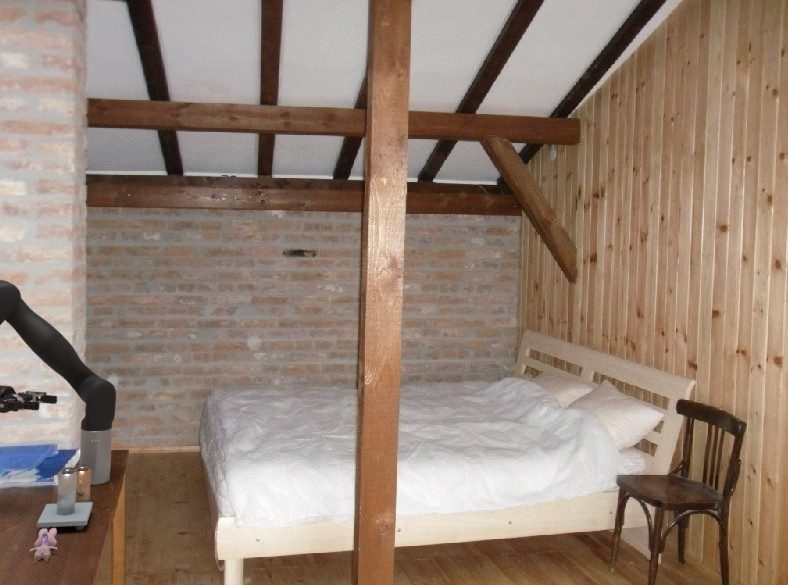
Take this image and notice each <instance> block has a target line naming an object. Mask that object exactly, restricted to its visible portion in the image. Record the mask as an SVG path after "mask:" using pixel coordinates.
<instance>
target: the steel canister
mask: <svg viewBox="0 0 788 585" xmlns="http://www.w3.org/2000/svg"><path fill="white" fill-rule="evenodd" d="M74 469H75V468H74V467H72V466H71V467H70V466H67V467H62V469H61V471H59V472H58V475H57V477H58V478H57V493H56V494H57V495H56V496H57V497H56V498H57V499H56V504H57V514H59V515H70V514H73V513H74V512H75V502H76V482H77V471H75V470H74Z"/></svg>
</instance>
